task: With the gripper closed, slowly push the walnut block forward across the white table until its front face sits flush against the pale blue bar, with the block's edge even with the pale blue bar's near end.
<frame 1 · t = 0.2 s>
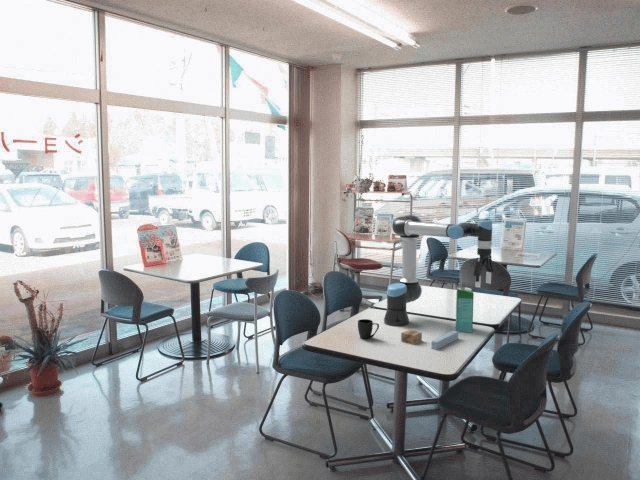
hand: (483, 285, 305), 28 cm above the table, fingers open, 13 cm apart
milk carton: (463, 329, 315), on the table
block: (411, 341, 295), on the table
pale blue bar: (445, 343, 290), on the table
mug: (368, 338, 300), on the table
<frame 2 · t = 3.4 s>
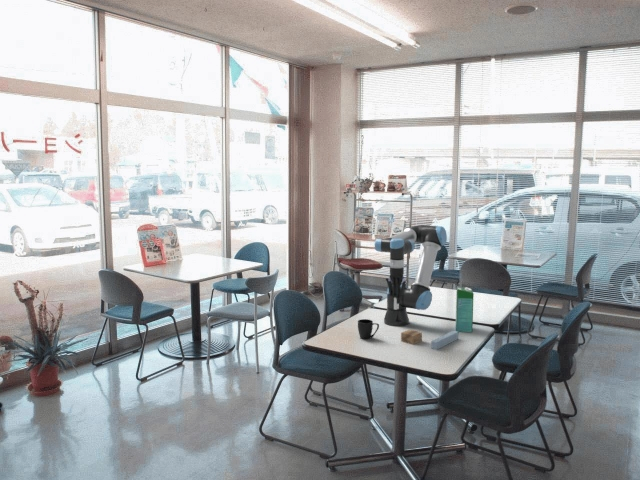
hand: (396, 308, 299), 16 cm above the table, fingers closed
nothing on the table moved.
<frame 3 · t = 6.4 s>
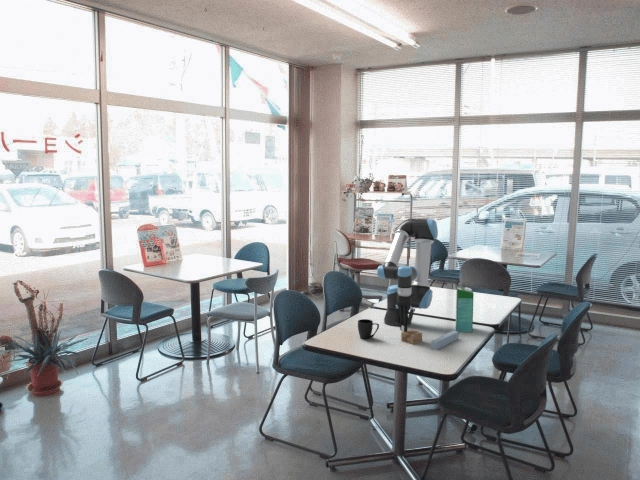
hand: (403, 336, 297), 2 cm above the table, fingers closed
block: (411, 341, 295), on the table, touching gripper
everything else where it was.
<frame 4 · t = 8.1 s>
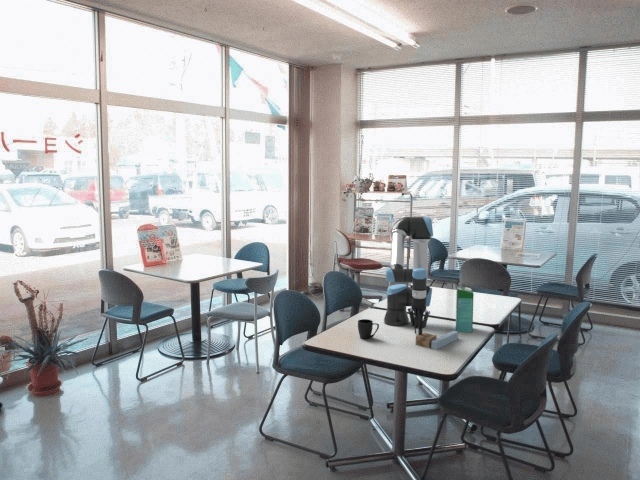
hand: (418, 340, 292), 2 cm above the table, fingers closed
block: (426, 344, 289), on the table, touching gripper
everything else where it was.
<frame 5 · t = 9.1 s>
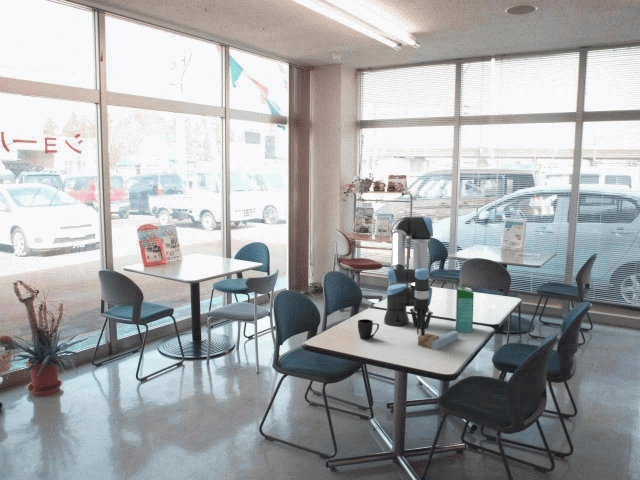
hand: (420, 340, 291), 1 cm above the table, fingers closed
block: (428, 345, 288), on the table, touching gripper
everything else where it was.
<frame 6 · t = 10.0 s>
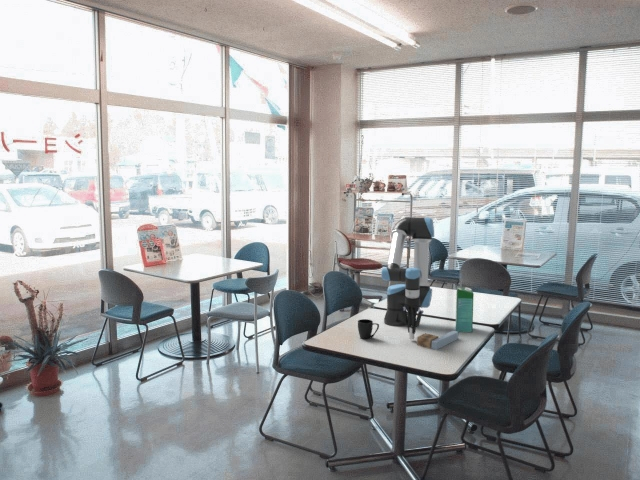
hand: (411, 338, 295), 1 cm above the table, fingers closed
block: (427, 345, 288), on the table
everything else where it was.
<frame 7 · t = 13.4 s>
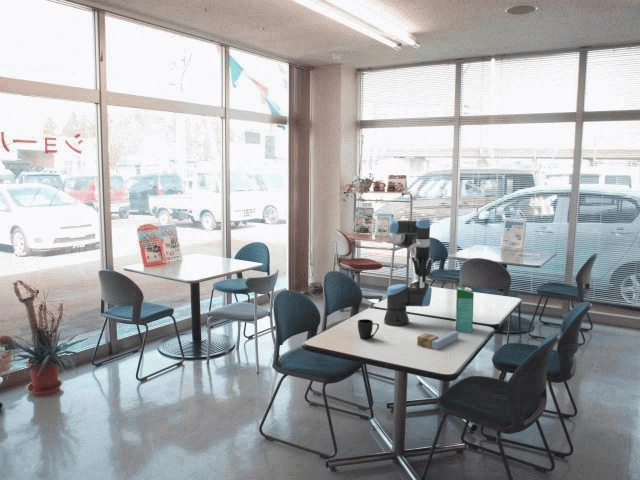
hand: (422, 287, 307), 26 cm above the table, fingers closed
nothing on the table moved.
at the end: block 0.7 cm from the target spot on the table beside the pale blue bar, on the table; block tilted 0° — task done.
